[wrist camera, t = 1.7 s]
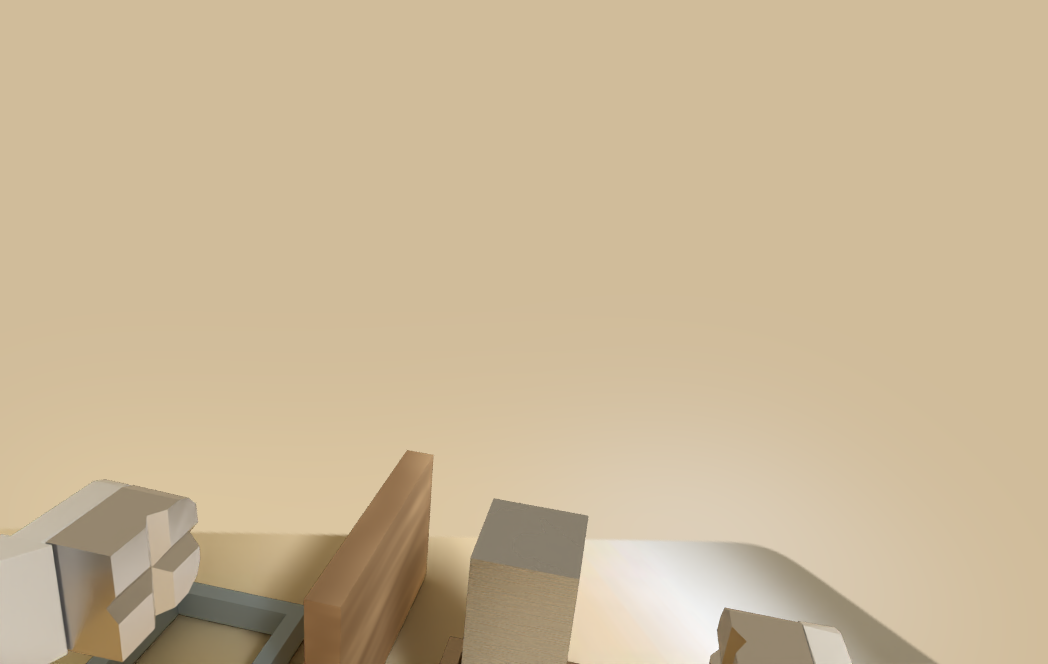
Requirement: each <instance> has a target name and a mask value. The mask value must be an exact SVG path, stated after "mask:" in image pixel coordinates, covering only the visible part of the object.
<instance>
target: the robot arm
mask: <svg viewBox="0 0 1048 664" xmlns="http://www.w3.org/2000/svg"><path fill="white" fill-rule="evenodd" d="M197 523H198V519H197V510H196V504H195V503H194V502H193V501H192V500H190V499H189V498H187V497H182V496H178V495H174V494H169V493H164V492H161V491H156V490H152V489H147V488H143V487H139V486H135V485H133V486H131V485H128V484H124V483H120V482H115V481H110V480H97V481H93V482H91V483H90V484H89V485H87V486H86V487H84V488H82V489H81V490H80V491H78V492H76V493H75V494H73V495H72V496H71V497H69V498H68V499H66V500H65V501H63V502H61V503H60V504H58V505H57V506H55V507H54V508H52V509H51V510H49V511H48V512H46V513H45V514H43V515H42V516H40V517H39V518H37V519H36V520H34V521H33V522H31V523H29V524H28V525H26V526H25V527H24V528H22V529H20V530H19V531H17V532H16V533H14V534H13V535H11V536H9V535H4V534H0V664H50V663H52V662H54V661H56V660H58V659H59V658H61V657H63V656H65V655H67V654H68V651H72V652H76V653H81V654H86V655H91V656H96V657H101V658H105V659H110V660H115V661H120V662H123V661H124V660H125V659H126V658H127V657H128V656H129V655H130V654H131V653H132V652H133V651H134V650H135V649H136V648H137V647H138V646H139V645H140V644H141V643H142V642H143V641H144V640H145V639H146V637H147V636H148V635H149V634H150V633H151V632H152V631H153V630H154V629H155V621H156V615H159V614H161V613H163V612H165V611H168V610H170V609H172V608H175V607H176V606H177V605H178V604H179V603H180V602H181V600H182V599H183V598H184V597H185V596H186V595H187V594H188V592H189V590H190V588H191V586H192V584H193V582H194V580H195V578H196V576H197V573H198V568H199V563H200V547H199V545H198V543H197V542H196V541H195V539H194V538H193V536H192V535H191V533H190V531H191V530H192V529H193V527H194V526H195V525H196V524H197ZM717 633H718V642H719V650H718V651H716V652H715V653H713V654H712V655H711V657H710V662H709V664H853V663H852V661H851V658H850V656H849V653H848V650H847V648H846V645H845V642H844V640H843V637H842V634H841V633H840V632H839V631H838V630H837V629H836V628H835V627H829V626H824V625H818V624H813V623H807V622H801V621H798V622H795V621H790V620H785V619H780V618H775V617H770V616H765V615H760V614H755V613H750V612H745V611H740V610H735V609H730V608H724V610H723V612H722V615H721V617H720V621H719V625H718V629H717Z"/></svg>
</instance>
